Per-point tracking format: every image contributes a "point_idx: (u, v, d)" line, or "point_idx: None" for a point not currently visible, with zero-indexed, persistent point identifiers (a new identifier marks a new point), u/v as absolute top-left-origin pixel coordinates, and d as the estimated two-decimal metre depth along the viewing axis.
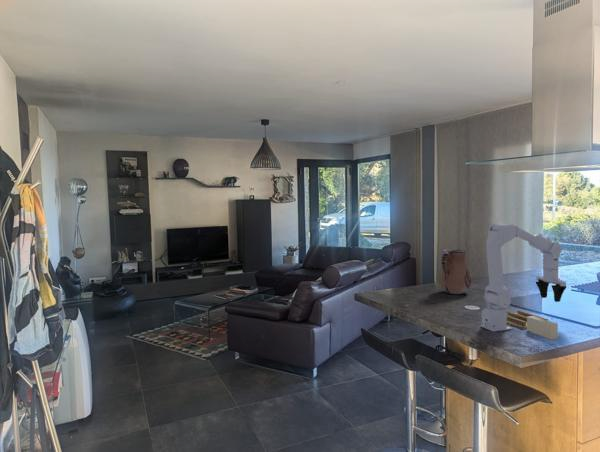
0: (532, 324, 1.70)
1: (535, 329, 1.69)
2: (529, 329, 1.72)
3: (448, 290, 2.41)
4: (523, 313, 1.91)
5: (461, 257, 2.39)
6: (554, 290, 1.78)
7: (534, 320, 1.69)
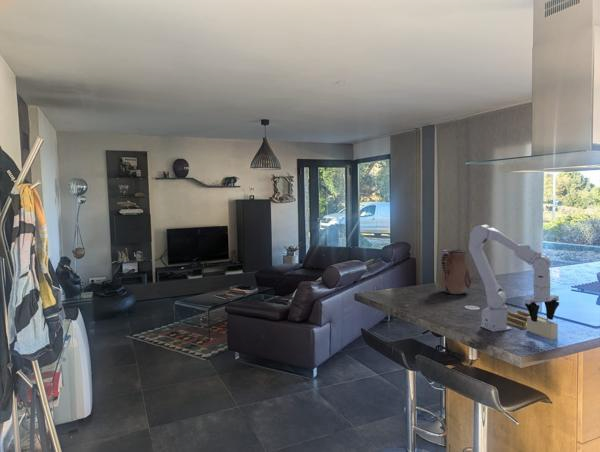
0: (532, 324, 1.70)
1: (535, 329, 1.69)
2: (529, 329, 1.72)
3: (448, 290, 2.41)
4: (523, 313, 1.91)
5: (461, 257, 2.39)
6: None
7: None
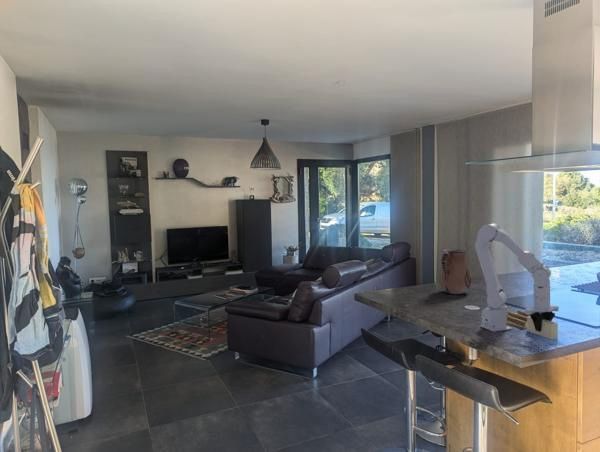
0: (532, 324, 1.70)
1: None
2: (529, 329, 1.72)
3: (448, 290, 2.41)
4: (523, 313, 1.91)
5: (461, 257, 2.39)
6: None
7: None
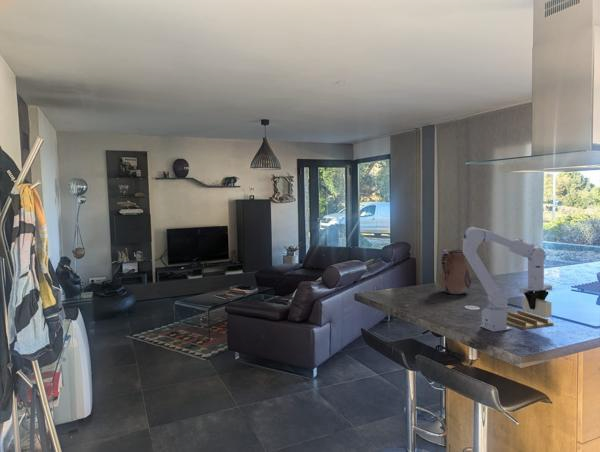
0: (527, 304, 1.77)
1: (530, 309, 1.75)
2: (524, 309, 1.78)
3: (448, 290, 2.41)
4: (523, 313, 1.91)
5: (461, 257, 2.39)
6: None
7: None
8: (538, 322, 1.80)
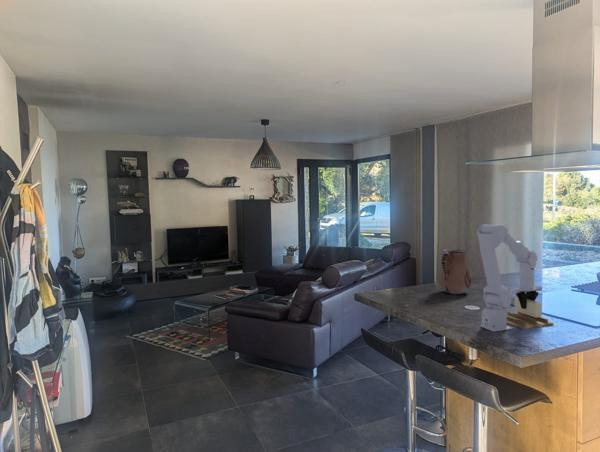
0: (519, 304, 1.89)
1: (521, 309, 1.87)
2: (516, 309, 1.90)
3: (448, 290, 2.41)
4: (523, 313, 1.91)
5: (461, 257, 2.39)
6: None
7: None
8: (538, 322, 1.80)
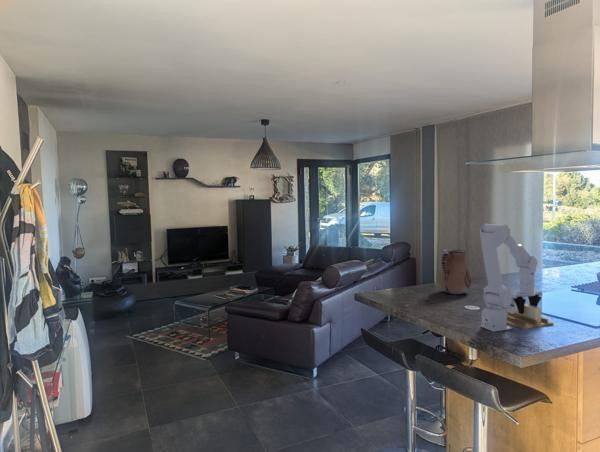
0: None
1: (521, 314, 1.87)
2: None
3: (448, 290, 2.41)
4: None
5: (461, 257, 2.39)
6: None
7: None
8: (538, 322, 1.80)
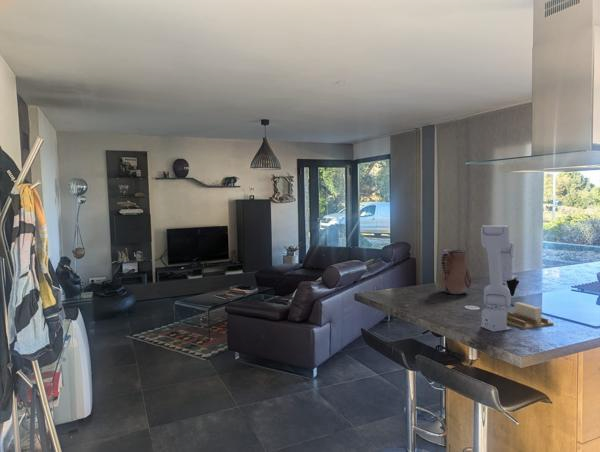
0: (519, 309, 1.89)
1: (521, 314, 1.87)
2: None
3: (448, 290, 2.41)
4: None
5: (461, 257, 2.39)
6: None
7: (520, 305, 1.88)
8: (538, 322, 1.80)
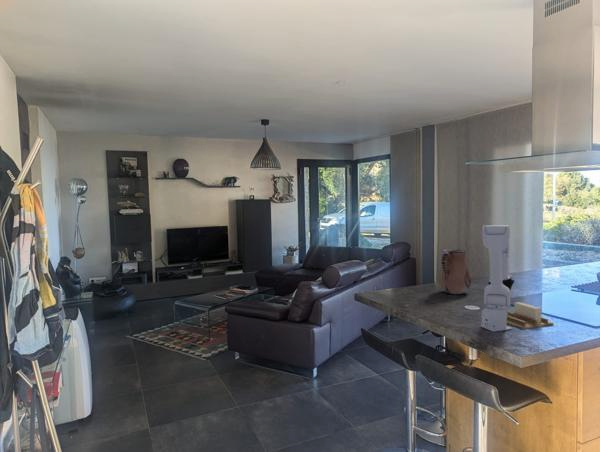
0: (519, 309, 1.89)
1: (521, 314, 1.87)
2: None
3: (448, 290, 2.41)
4: None
5: (461, 257, 2.39)
6: None
7: (520, 305, 1.88)
8: (538, 322, 1.80)
